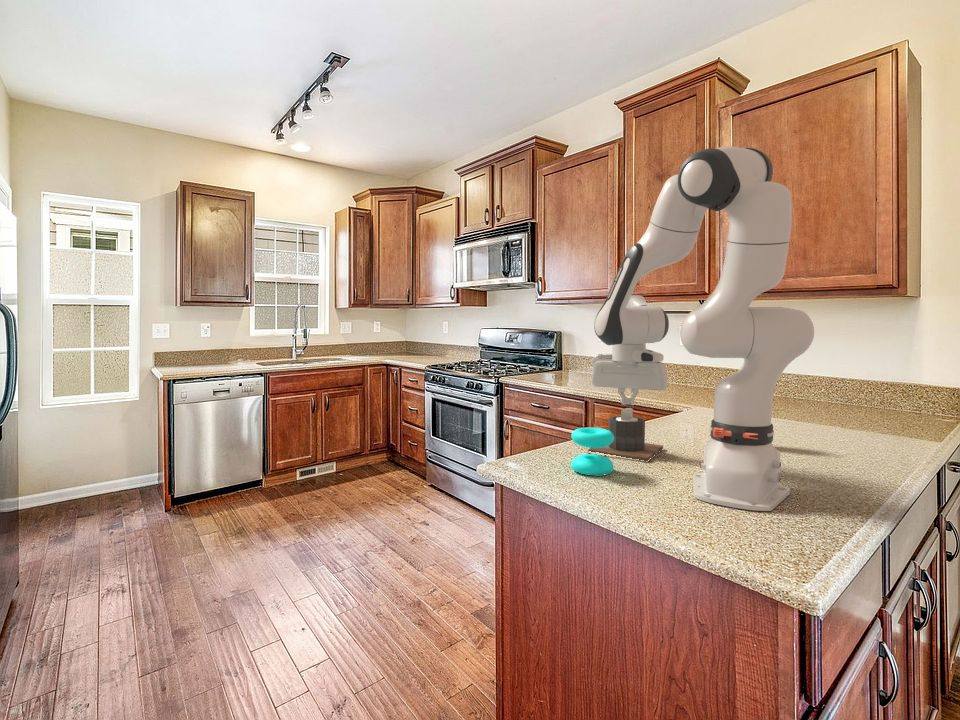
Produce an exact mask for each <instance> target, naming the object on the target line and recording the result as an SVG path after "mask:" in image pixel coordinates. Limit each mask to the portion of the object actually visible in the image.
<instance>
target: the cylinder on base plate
mask: <svg viewBox="0 0 960 720" xmlns="http://www.w3.org/2000/svg"><path fill="white" fill-rule="evenodd" d="M618 417H621V415H615V416H614V415H612V416H610V417H609V418H608V430H609V431H611V432H612V433H613V435H614V440H613V442H612V443H611V444H610V445H608V446H606V447H602V448H587V452H588V451H591V452H599V453H604V454H610V455H616V456H621V457H626V458H632V459H639V460H644V461H648V460H649V459H650V458H652V457H653V456H654V455H656V454H657V453H658V452H659V451H661V450H662V449H663V450H664V445H663V444H655V443H648V442H646V440H645V437H646V419H645V418H643V417H639V416H634V415H633V418H637V419H638V421H634V422H631V421H618V420H616V418H618ZM663 450H662V451H663ZM662 451H661V452H662ZM659 453H660V452H659ZM659 453H658V454H659ZM658 454H657V455H658ZM657 455H656V456H657ZM653 458H654V457H653ZM653 458H652V459H653ZM648 462H649V461H648Z"/></svg>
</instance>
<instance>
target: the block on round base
mask: <svg viewBox="0 0 960 720" xmlns="http://www.w3.org/2000/svg"><path fill="white" fill-rule="evenodd" d="M633 411H634V409H633V408H630V407H629V408H628V407H626V408H624V409H621V411H620V416H621V417H618V418H616V420H618V421H631V422H634V421H638V419H637V418H633V416H634V415H633V414H634V412H633Z"/></svg>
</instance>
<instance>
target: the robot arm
mask: <svg viewBox="0 0 960 720" xmlns="http://www.w3.org/2000/svg"><path fill="white" fill-rule="evenodd" d="M773 174H774V168H773V163H772V160H771V159H770V158H769V156H768V155H767V154H766V153H764V152H763V151H762V150H759V149H757V148H753V147H737V146H732V145H731V146H730V145H729V146H721V147H709V148H705V149H701V150H700V151H697V152H694V153H693V154H691V155H689V156H688V158H686V159H685V161H684V162H683V163H682V164H681V166H680V169H679V170H678V174H674V175H672V176H670V177H668V178H667V180H666V181H665V182H664V183H663V186H662V188H661V190H660V193H659V195H658V197H657V200H656V201H655V202H656V203H655V204H654V207H653V210H652V213H651V216H650V219H649V220H650V221H649V223H648V226H647V228H646V231H645V232H644V233H643V235H642V236H641V238H640V239H639V240H638V241H637V242H636V243H635V244H633V245H632V246H630V247H629V248H628V250H627V252H626V253H625V255H624V257H623V259H622V261H621V264H620V265H619V268H618V270H617V272H616V276H615V277H614V279H613V282H612V285H611V286H610V288H609V292H608V294H607V296H606V298H605V301H604V302H603V304H602V306H601V307H600V309H599V310H598V312H597V314H596V316H595V319H594V325H593V326H594V333H595V335H596V336H597V338H598V339H599V340H600V341H601V342H602V343H603V344H605V345H607V346H611V348H612V351H611V354H610V353H609V354H608V353H607V354H603V353H601V354H600V353H599V354H597V355H595V356H594V357H593V358H592V376H591V384H592V386H594V387H595V388H613V389H615V388H616V389H617V392H618V393H617V394H619V397H620V398H621V405H622V406H634V405H635V399H636V397H637V395H638V394H639V390H648V391H650V390H651V391H664V390H666V388H667V387H668V373H667V372H668V370H667V367H666V365H665V364H664V363H663V361H664V358H665V357H664V354H663V353H660V352H657V351H654V350H651V349H648V348H647V347H646V346H647V344H655V343H659V342H661V341H663V340H664V338H666V336H667V334H668V332H669V325H670V321H669V317H668V314H667V313H666V311H665V310H664V309H663V308H662V307H660V306H655V305H652V304H651V303H648V302H647V301H646V299H645V297H644V296H643V295H640V294H633V292H634V290H635V288H636V285H637V284H638V282H639V281H640V280H641V279H642V278H643V277H644V276H646V275H647V274H649V273H651V272H653V271H656V270H657V269H661V268H664V267H668V266H670V265H673V264H676V263H678V262H680V261H682V260H683V259H685V258H686V257H688V255H690V253H691V252H692V250H693V249H694V247H695V244H696V242H697V239H698V236H699V233H700V230H701V228H702V227H701V226H702V223H703V220H704V217H705V215H706V212H707V211H708V210H712V211H713V212H720V211H722V210H724V211H725V212H726V213H727V216H728V231H727V237H726V238H727V239H726V248H725V253H724V259H723V260H724V261H723V266H722V268H721V269H722V270H721V274H720V277H719V279H718V283H716V286H715V288H714V289H713V291H712V293H711V294H709V297H707V298H706V300H704V302H702V304H700V305H699V306H698V307H696V308H695V309H693V310H691V311H690V312H688V314H687V315H686V316H685V318H684V319H683V320H682V323H681V326H680V330H679V331H680V332H679V333H680V334H679V335H680V340H681V343H682V345H683V347H684V349H685V350H686V351H687V352H688V353H689V354H691V355H695V356H700V357H704V358H705V357H706V358H710V359H743V363H742V366H741V367H740V368H739V369H738V371H737V372H734V373H732V374H730V375H728V376H726V377H723V378H722V379H720V381H718V383H717V384H716V386H715V387H714V396H713V419H712V420H711V424H710V428H709V430H710V433H709V434H710V435H709V436H710V439H709V440H707V441H706V442H705V443H704V453H703V454H704V457H703V462H701V463H700V464H699V465H700V466H699V467H700V469H701V470H703V472H698V473H696V472H695V473H694V474H693V475H692V493H693V494H692V495H693V498H694V499H697V500H700V501H702V502H706V503H710V504H715V505H719V506H724V507H728V508H729V507H730V508H734V509H739V510H748V511H757V512H759V511H760V512H772V511H773V510H774V509H775V508H777V507H778V506H779V505H780V504H781V503H782V502H783V501H784V500H785V499H786V498H787V497H788V496H789V495H791V488H790V487H788V486H786V485H782V484H781V480H782V478H781V467H782V462H781V452H780V451H779V450H778V449H777V448H776V447H775V446H774V445H773V441H774V435H775V431H774V425H773V423H772V411H773V401H774V393H775V390H776V386H777V383H778V381H779V378H780V376H781V375H782V374H783V372H784V371H785V369H786V368H787V367H788V366H789V364H791V363H792V362H793V361H794V360H796V358H798V357H800V356H801V355H803V354H804V353H805V352H807V350H808V349H809V348H810V347H811V345H812V343H813V340H814V337H815V327H814V323H813V321H812V319H811V318H810V316H809V315H808V313H806V312H805V311H804V310H800V309H795V308H790V307H782V306H750V305H751V303H753V301H754V300H755V299H756V298H757V297H758V296H760V295H761V294H763V293H764V292H765V293H766V292H767V291H770V290H771V289H774V288H775V287H777V285H778V284H779V283H781V281H782V280H783V278H784V276H785V272H786V266H787V259H788V253H789V247H790V240H791V234H792V223H793V220H792V219H793V218H792V217H793V204H792V201H793V200H792V193H791V191H790V189H788V187H787V186H786V185H783V184H782V183H779V182H776V181H772V179H773ZM626 389H629V390H630V392H631V393H632V395H631V397H626V396H627V395H625V392H626Z"/></svg>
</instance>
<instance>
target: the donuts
mask: <svg viewBox="0 0 960 720" xmlns="http://www.w3.org/2000/svg"><path fill="white" fill-rule="evenodd" d="M571 440H572V441H573V443H575V444H576V445H578V446H579V447H583V448H587V449H590V448H602V447H606V446H608V445H610V444H611V443H612V442H613V440H614V435H613V433H612V432H611V431H609V429H606V428H603V427H602V428H600V427H590V426H589V427H579V428H576V429H575V430H573V431H571ZM570 466H571V469H572V470H573V471H574V472H575V471H576V472H575V473H577V472H579V473H582V474H589V475H603V476H605V475H604V474H607V475H609V474H611V473H612V472H613V471H614V463H613V461H612V460H611V459H610V458H609V457H607V456H602V455H597V454H588V453H584V454H579V455H577V456H574V458H573V459H572V461H571V463H570ZM579 473H578V474H579ZM608 473H609V474H608ZM582 474H581V475H582Z"/></svg>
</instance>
